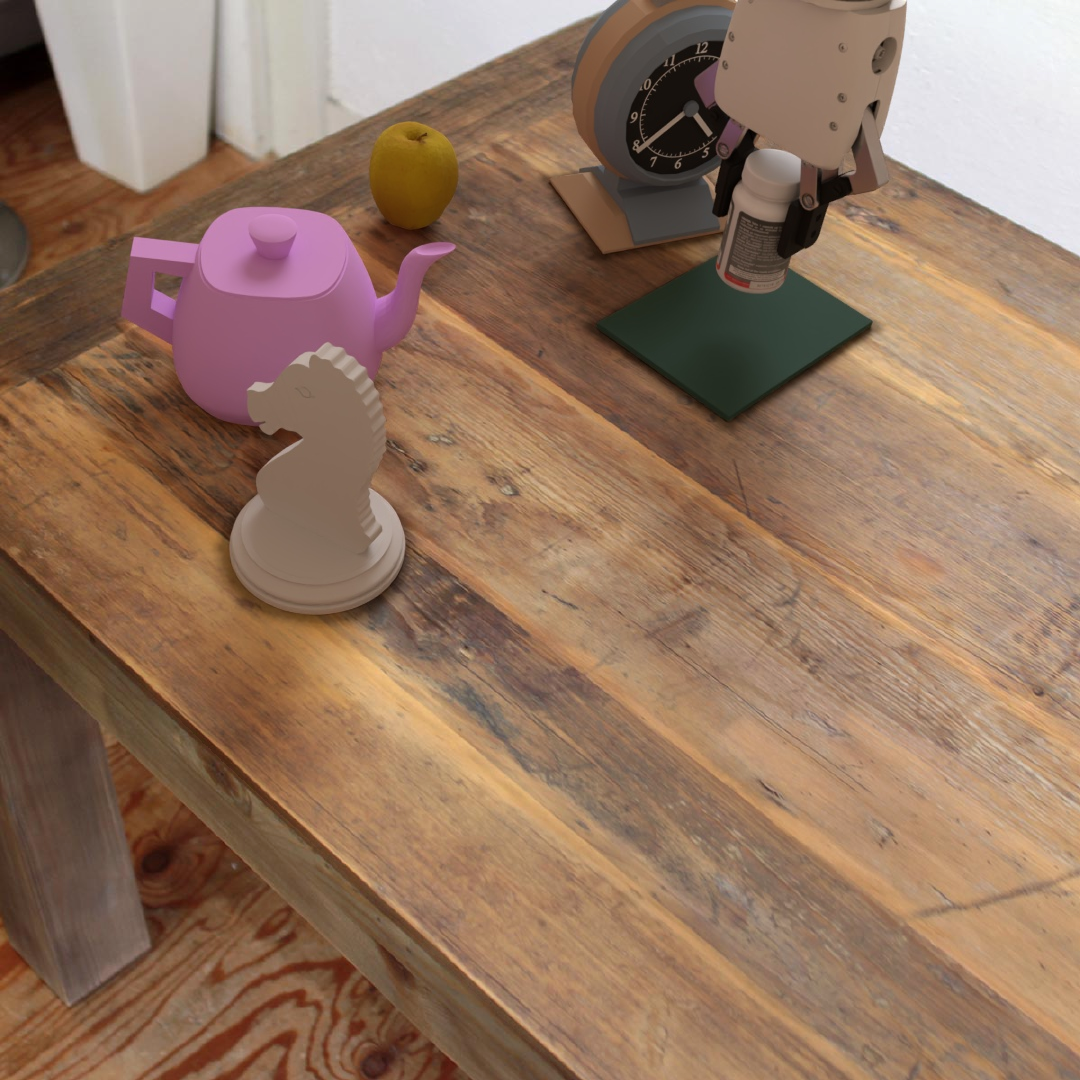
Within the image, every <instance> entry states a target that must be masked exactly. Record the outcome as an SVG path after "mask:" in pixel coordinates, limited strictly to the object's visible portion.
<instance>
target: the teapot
mask: <svg viewBox="0 0 1080 1080" xmlns="http://www.w3.org/2000/svg"><path fill="white" fill-rule="evenodd" d="M456 246H457V245H456V244H454V243H453V242H448V241H437V242H430V243H425V244H422V245H419V246H417V247H415V248H412V250H411V251H409V252H408V253H407V255H406V256H405V257H404V258H403V260H402V262H401V263H400V267H399V272H398V275H397V281H396V285H395V287H394V289H393V290H392V291H391V292H389V293H388V294H386V295H383V296H380V297H377V293H376V291H375V288H374V285H373V282H372V279H371V277H370V275H369V272H368V270H367V268H366V265H365V263H364V261H363V259H362V258H361V256H360V254H359V253H358V251H357V249H356V247H355V245H354V243H353V242H352V240H351V239H350V237H349V235H348V234H347V232H346V230H345V228H343V226H342V225H341V224H340V223H339V222H338V221H337V220H336V219H335V218H333V217H332V216H330V215H328V214H326V213H322V212H319V211H315V210H308V209H301V208H291V207H280V206H245V207H237V208H233V209H230V210H228V211H226V212H224V213H222V214H221V215H219V216H218V217H217V218H215V219H214V221H212V222H211V223H210V225H209V227H208V228H207V229H206V231H205V232H204V235H203V236H202V239H201V240H200V242H199V243H193V242H183V241H175V240H166V239H157V238H149V237H139V236H133V240H132V246H131V249H130V256H129V262H128V269H127V274H126V280H125V287H124V293H123V299H122V306H121V310H120V317H122V318H123V319H125V320H127V321H129V322H130V323H132V324H133V325H136V326H137V327H139V328H141V329H142V330H144V331H145V332H148V333H150V334H152V335H153V336H155V337H157V338H158V339H160V340H162V341H164V342H166V343H167V344H169V345H171V346H172V358H173V363H174V369H175V372H176V375H177V378H178V380H179V382H180V384H181V387H182V388H183V390H184V392H185V394H187V396H188V397H189V398H190V399H191V400H192V402H194V403H195V404H196V405H197V406H198V407H199V408H201V409H202V410H204V412H206V413H208V414H209V415H211V416H212V417H214V418H216V419H219V420H221V421H224V422H227V423H231V424H237V425H244V426H251V427H259V425H260V424H261V423H263V422H254V421H253V420H252V419H251V417H250V415H249V413H248V408H247V398H248V395H247V389H249V388H250V387H251V386H252V385H253V384H254V383H255V382H262V383H272V382H275V380H276V379H277V378H278V377H279V375H280V374H281V373H282V371H283V370H284V369H285V368H286V367H288V366H289V365H290V364H291V363H292V362H293V361H294V360H295V359H296V358H298V357H299V356H300V355H302V354H303V353H305V352H316V351H317V350H318V349H319V348H320V347H321V346H323V345H324V344H325V343H327V342H329V343H330V344H332V345H333V346H335V347H342V348H343V349H344V350H345V352H346V354H347V355H349V356H352V357H354V358H355V359H356V360H357V362H358V363H359V364H360V365H361V366H363V367H365V368H366V369H367V375H368V378H370V379H371V380H372V381H373V382H374V380H375V379H376V376H377V374H378V371H379V368H380V365H381V362H382V359H383V353H384V352H386V351H388V350H390V349H393V348H394V347H396V346H397V345H398V344H399V343H401V341H403V340H404V339H405V338H406V336H407V335H408V334H409V332H410V330H411V329H412V327H413V325H414V322H415V320H416V316H417V313H418V308H419V304H420V303H419V302H420V295H421V289H422V284H423V280H424V278H425V276H426V273H427V272H428V270H429V268H430V267H431V266H432V265H433V264H434V263H435V262H437V261H438V260H440V259H441V258H443V257H445V256H448V255H449V254H450V253H453V252H454V251H455V249H456V248H457V247H456ZM156 273H159V274H163V275H169V276H175V277H179V278H182V280H181V284H180V286H179V290H178V292H177V297H176V300H175V299H174V298H172V297H170V296H168V295H167V294H164V293H163V292H161V291H159V290H158V289H156V288H155V278H156Z"/></svg>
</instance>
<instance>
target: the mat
mask: <svg viewBox="0 0 1080 1080" xmlns="http://www.w3.org/2000/svg"><path fill="white" fill-rule="evenodd" d="M717 258H718V254H717V255H715V256H713V257H711V258H709V259H707V260H706V261H704V262H702V263H700V264H698V265H697V266H695V267H693V268H691V269H690V270H688V271H687V272H684V273H683V274H681V275H679V276H677V277H676V278H674V279H672V280H670V281H668V282H667V283H665V284H663V285H661V286H660V287H658V288H655V289H654V290H652V291H650V292H649V293H647V294H645V295H644V296H642V297H640V298H638V299H636V300H635V301H632V302H631V303H629V304H627V305H626V306H624V307H622V308H620V309H619V310H617V311H614V312H613V313H611V314H610V315H608V316H606V317H604V318H602V319H600V320H599V321H597V322H596V326H595V328H596V329H597V330H599V331H600V332H601V333H603V334H604V335H606V336H607V337H608V338H610V340H612V341H614V342H616V343H617V344H618V345H619V346H621V347H622V348H624V349H625V350H627V351H628V352H629V353H631V354H632V355H633V356H634V357H636V358H638V359H639V360H641V361H642V362H644V363H645V364H646V365H647V366H649V367H651V369H653V370H654V371H656V372H657V373H658V374H660V375H662V376H663V377H664V378H665V379H667V380H668V381H670V382H671V383H673V384H674V385H675V386H677V387H678V388H679V389H681V390H683V391H684V392H685V393H687V394H688V395H689V396H691V397H692V398H693V399H695V400H697V401H698V402H699V403H700V404H702V405H703V406H705V407H707V409H709V410H711V411H712V412H713V413H715V414H716V415H717V416H718V417H720V418H721V419H723V420H724V421H726V422H730V421H731V420H733V419H734V418H736V417H738V415H740V414H742V413H743V412H744V411H746V410H748V409H749V408H751V407H752V406H754V405H755V404H756V403H758V402H760V401H761V400H762V399H764V398H766V397H767V396H769V395H770V394H772V393H774V392H775V391H777V390H778V389H779V388H781V387H783V386H784V385H785V384H787V383H789V381H791V380H793V379H794V378H795V377H797V376H799V375H801V374H802V373H804V372H805V371H807V369H809V368H811V367H813V366H814V365H815V364H817V363H818V362H820V361H821V360H823V359H824V358H826V357H827V356H828V355H830V354H832V353H833V352H835V351H837V350H838V349H840V348H841V347H842V346H844V345H845V344H847V343H849V342H850V341H851V340H853V339H854V338H855V337H857V336H859V335H861V334H862V333H864V332H865V331H866V330H868V329H870V328H871V327H872V325H873V322H874V320H872V319H870V318H869V317H867V316H866V315H864V314H863V313H861V312H859V311H857V310H856V309H854V307H851V305H848V304H847V303H845V302H844V301H842V300H840V298H838V297H836V296H834V295H832V294H831V293H829V292H828V291H827V290H825V289H823V288H822V287H820V286H819V285H816V284H815V283H813V282H812V281H811V280H809V279H808V278H806V277H805V276H803V275H801V274H799V273H798V272H796V271H795V270H793V269H792V268H790V267H788V270H787V274H786V277H785V280H784V282H783V284H782V285H781V286H780V287H779V288H778V289H776V290H775V291H772V292H769V293H762V294H753V293H745V292H742V291H738V290H736V289H734V288H732V287H730V286H729V285H727V284H726V283H725V282H724V281H723V280H722V279H721V278H720V277H719V275H718V273H717V270H716V262H717Z"/></svg>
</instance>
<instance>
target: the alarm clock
mask: <svg viewBox="0 0 1080 1080" xmlns="http://www.w3.org/2000/svg"><path fill="white" fill-rule="evenodd" d="M737 1H738V0H615V1H614V2H612V4H610V5H609V6H608V7H606V9H604V10H603V11H602V13H601V14H599V16H598V18H597V19H596V20H595V21H594V23H593V24H592V25H591V27H590V28H589V29H588V31H587V33H586V34H585V37H584V39H583V41H582V43H581V44H580V46H579V49H578V50H577V55H576V59H575V62H574V65H573V66H574V67H573V71H572V74H571V83H570V84H571V87H570V89H571V92H570V93H571V97H570V98H571V103H572V116H573V120H574V122H575V125H576V129H577V133H578V135H579V136H580V137H581V139H582V140H583V142H584V143H585V144H586V146H587V148H588V149H589V150H590V151H591V152H592V154H593V155H594V157H595V158H596V159H597V160H598V161H599V163H601V164H598V165H592V166H586V167H580V168H578V173H572V174H566V175H560V176H553V177H549V183H550V184H551V185H552V187H553V188H554V190H555V191H556V192H557V194H558V195H559V196H560V198H561V199H562V200H563V202H564V203H565V204H566V206H567V207H568V208H569V210H570V211H571V213H572V214H573V215H574V217H575V218H576V219H577V221H578V222H579V224H580V225H581V226H582V228H583V229H584V230H585V232H586V233H587V234H588V235H589V237H590V238H591V240H592V241H593V243H594V244H595V246H597V248H598V249H599V250H600V252H601V254H603V255H606V254H611V253H617V252H623V251H627V250H634V249H638V248H639V249H640V248H644V247H650V246H654V245H655V246H656V245H659V244H665V243H670V242H671V243H672V242H676V241H681V240H687V239H693V238H698V237H704V236H709V235H713V234H718V233H724V229H725V224H726V220H727V216H728V215H726V216H724V217H720V218H718V217H717V216H715V215H714V214H712V209H713V205H714V201H715V196H716V193H715V186H716V185H714V184H713V182H712V181H711V180H710V179H709V177H708V176H707V175H708V174H709V173H712V172H713V171H715V170H717V169H718V168H720V165H721V160H722V159H721V158H720V157H719V156H718V155H717V152H716V144H717V142H718V139H717V136H716V134H715V132H714V129H713V127H712V124H711V122H710V119H709V116H708V112H709V109H708V108H706V107H705V105H704V103H703V101H702V99H701V97H700V95H699V93H698V92H697V90H696V88H695V85H694V80H695V78H696V77H697V76H698V75H699V74H701V73H702V72H703V71H705V70H706V69H707V68H708V67H710V66H711V65H712V64H714V63H715V62H716V61H717V60H719V59H720V56H721V52H722V48H723V44H724V41H725V38H726V34H727V31H728V27H729V24H730V21H731V18H732V15H733V12H734V9H735V6H736V4H737Z"/></svg>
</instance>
